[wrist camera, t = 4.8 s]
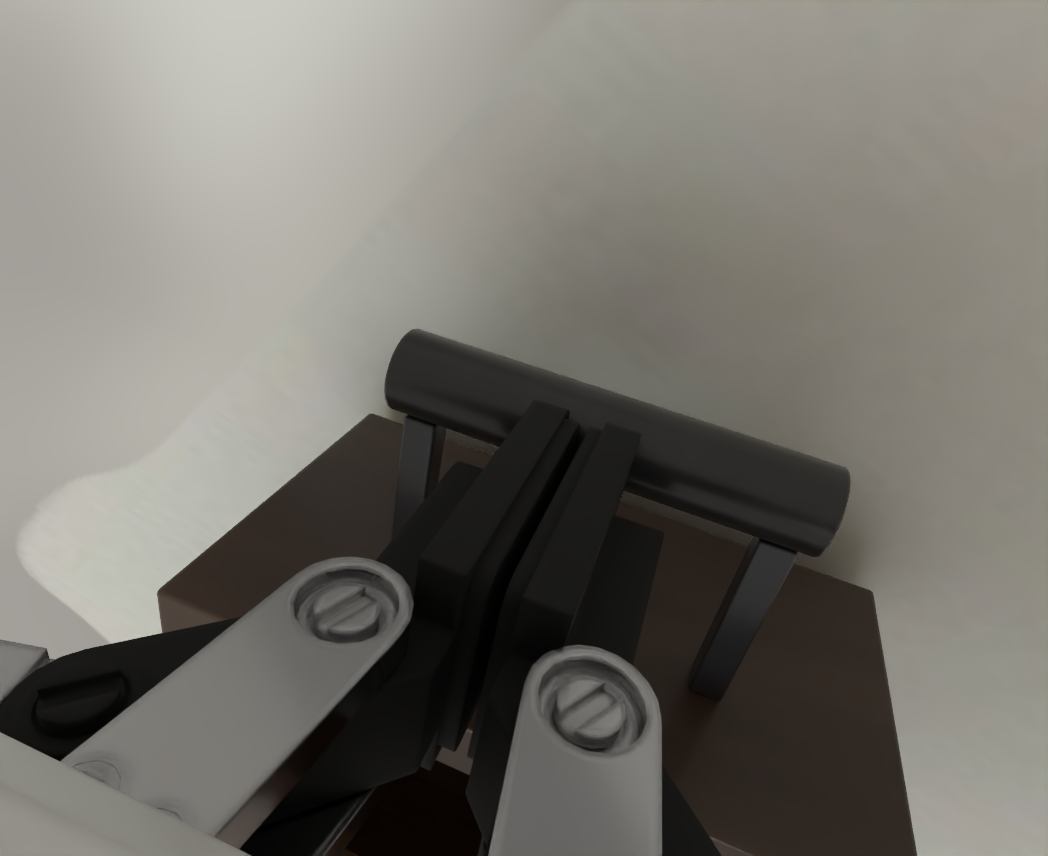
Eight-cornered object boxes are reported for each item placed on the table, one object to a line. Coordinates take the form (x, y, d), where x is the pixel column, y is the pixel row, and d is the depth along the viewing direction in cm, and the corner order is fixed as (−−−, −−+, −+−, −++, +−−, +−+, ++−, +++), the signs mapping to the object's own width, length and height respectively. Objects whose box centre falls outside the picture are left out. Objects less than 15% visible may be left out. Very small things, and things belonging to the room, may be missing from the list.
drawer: (384, 226, 15) (118, 331, 9) (990, 405, 13) (1176, 710, 7) (345, 725, 25) (202, 940, 19) (690, 882, 22) (654, 1189, 16)
